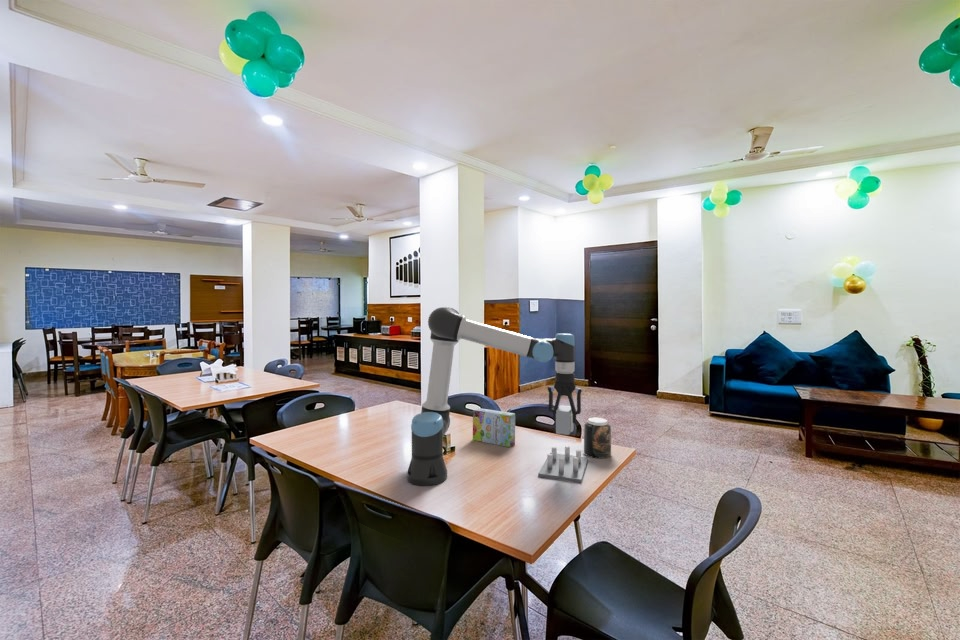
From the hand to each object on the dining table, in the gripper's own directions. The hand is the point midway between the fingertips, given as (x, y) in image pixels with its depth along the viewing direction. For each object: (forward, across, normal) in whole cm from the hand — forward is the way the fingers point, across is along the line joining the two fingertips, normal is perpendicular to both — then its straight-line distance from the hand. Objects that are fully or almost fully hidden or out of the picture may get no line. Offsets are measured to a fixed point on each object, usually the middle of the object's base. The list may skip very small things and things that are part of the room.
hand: (564, 429), depth 160 cm
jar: (+16, +11, +22) cm, 29 cm away
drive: (0, 0, 0) cm, 0 cm away
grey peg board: (+15, 0, 0) cm, 15 cm away
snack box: (+16, -37, +20) cm, 45 cm away
